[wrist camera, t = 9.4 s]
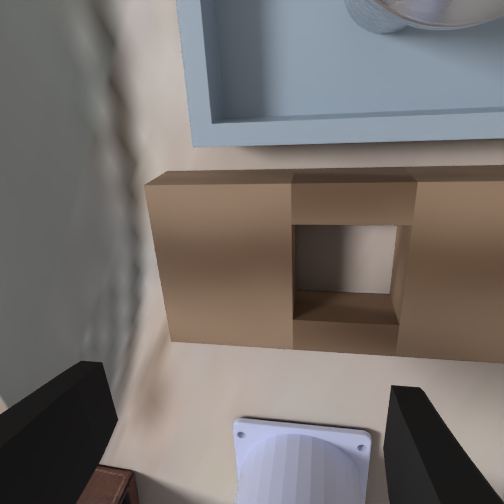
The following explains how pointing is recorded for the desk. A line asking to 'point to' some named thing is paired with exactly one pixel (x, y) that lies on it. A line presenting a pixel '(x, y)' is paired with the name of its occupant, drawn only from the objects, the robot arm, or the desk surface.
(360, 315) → the brown flat block
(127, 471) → the letter holder
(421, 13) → the steel pin
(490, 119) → the tray
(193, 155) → the desk surface
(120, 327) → the desk surface
